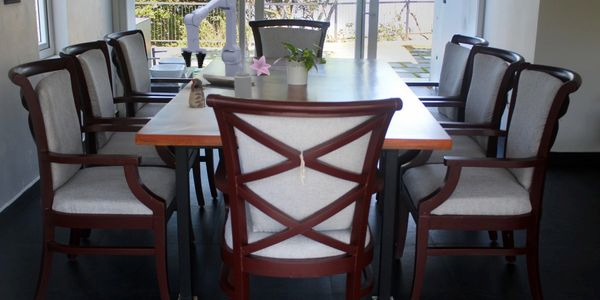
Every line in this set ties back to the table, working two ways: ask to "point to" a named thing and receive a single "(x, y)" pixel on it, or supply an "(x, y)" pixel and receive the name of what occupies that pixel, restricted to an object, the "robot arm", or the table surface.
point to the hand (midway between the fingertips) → (194, 67)
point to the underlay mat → (220, 86)
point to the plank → (219, 79)
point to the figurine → (197, 94)
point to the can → (243, 85)
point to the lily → (260, 66)
